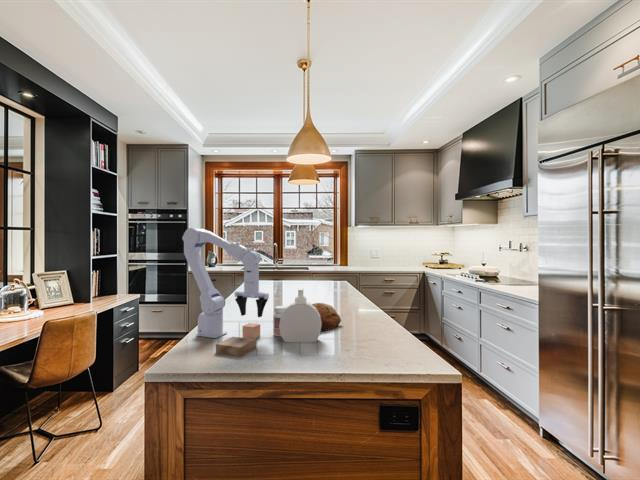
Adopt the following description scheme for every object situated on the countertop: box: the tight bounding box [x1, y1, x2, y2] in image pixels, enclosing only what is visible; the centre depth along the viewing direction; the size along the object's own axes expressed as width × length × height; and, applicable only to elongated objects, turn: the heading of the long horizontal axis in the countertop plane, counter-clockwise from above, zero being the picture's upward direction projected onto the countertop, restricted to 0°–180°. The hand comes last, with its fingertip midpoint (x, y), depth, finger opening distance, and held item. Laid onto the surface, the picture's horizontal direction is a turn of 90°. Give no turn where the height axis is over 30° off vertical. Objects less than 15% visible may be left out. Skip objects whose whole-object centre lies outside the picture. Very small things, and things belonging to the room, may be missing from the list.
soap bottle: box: [279, 288, 322, 344], centre depth 141 cm, size 16×5×20 cm, turn 89°
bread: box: [311, 302, 342, 332], centre depth 164 cm, size 20×18×10 cm
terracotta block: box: [242, 322, 261, 340], centre depth 146 cm, size 5×5×5 cm
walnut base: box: [215, 336, 257, 357], centre depth 130 cm, size 10×10×3 cm
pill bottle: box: [273, 305, 287, 337], centre depth 150 cm, size 6×6×11 cm
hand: (251, 315), depth 146 cm, fingers open, 7 cm apart
